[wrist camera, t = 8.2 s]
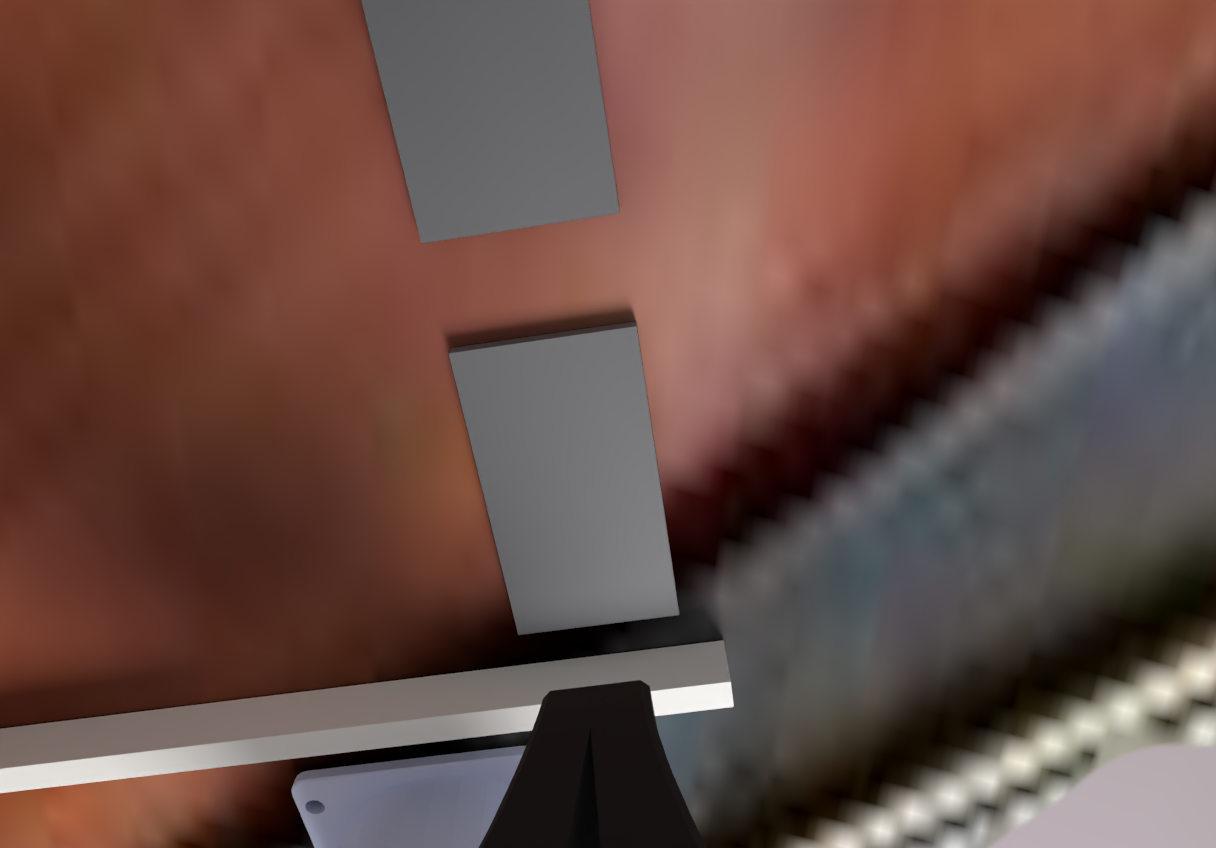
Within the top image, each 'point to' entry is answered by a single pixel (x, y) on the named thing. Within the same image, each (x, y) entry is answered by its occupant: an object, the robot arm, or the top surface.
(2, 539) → the top surface
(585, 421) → the rectangular frame
